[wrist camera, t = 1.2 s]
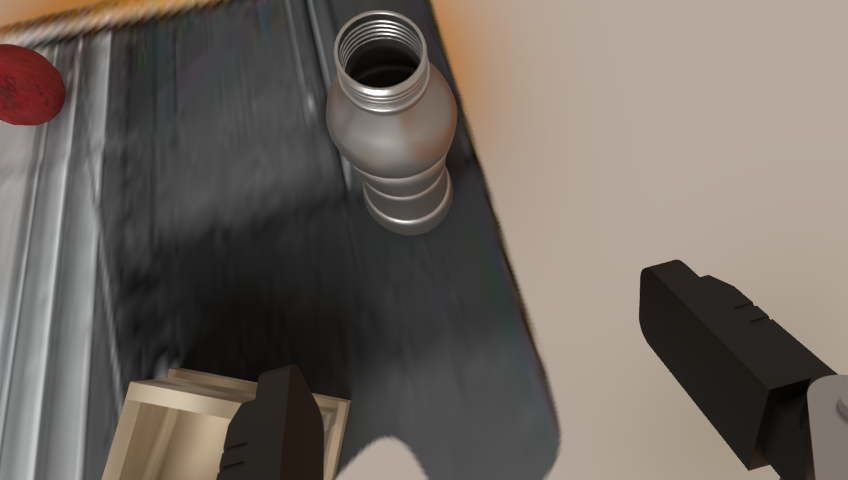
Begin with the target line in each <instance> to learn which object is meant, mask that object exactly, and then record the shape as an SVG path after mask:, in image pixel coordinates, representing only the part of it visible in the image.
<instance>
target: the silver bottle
mask: <svg viewBox="0 0 848 480" xmlns="http://www.w3.org/2000/svg"><path fill="white" fill-rule="evenodd" d="M334 59H335V64H336V67H337V76H336V77H335V79H334V81H333V83H332V84H331V87H330V90H329V94H328V98H327V109H326V120H327V127H328V130H329V133H330V135H331V138H332V140H333V142H334V143H335V145H336V146H337V148H338V149H339V151H340V152H341V153H342V155H343V156H344V157H345V158H346V159H347V160H348V161H349V162H350V163H351V164H352V165H353V166H354V167H355V168H356V169H357V170H358V171H359V173H360V174H361V176H362V179H363V195H364V202H365V204H366V207H367V209H368V211H369V212H370V214H371V216H372V217H373V218H374V219H375V220H376V221H377V222H378V223H379V224H381V225H382V226H383V227H385V228H386V229H388V230H390V231H392V232H395V233H397V234H402V235H419V234H423V233H426V232H428V231H430V230H432V229H433V228H435V227H436V226H437V225H438V224H439V223H441V221H442V220H443V219H444V217H445V216H446V215H447V213H448V211H449V209H450V207H451V204H452V200H453V186H452V181H451V178H450V175H449V172H448V170H447V168H446V166H445V160H446V155H447V153H448V150H449V148H450V145H451V143H452V140H453V137H454V132H455V128H456V123H457V108H456V103H455V98H454V96H453V94H452V92H451V89H450V87H449V85H448V84H447V82H446V80H445V79H444V77H443V76H442V75H441V73H440V72H439V70H437V69H436V68H435V67H434V66H433V65H432V64H431V63H430V62H429V60H428V57H427V46H426V42H425V39H424V37H423V35H422V32H421V31H420V29H419V28H418V27H417V25H416V24H414V23H413V22H412V21H411V20H410V19H408V18H407V17H405V16H403V15H401V14H398V13H396V12H392V11H387V10H375V11H368V12H365V13H362V14H359V15H357V16H356V17H354V18H352V19H351V20H350V21H348V22H347V23H346V24H345V25H344V26H343V27H342V29H341V30H340V32H339V33H338V35H337V37H336V41H335V44H334Z"/></svg>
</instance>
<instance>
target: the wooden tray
mask: <svg viewBox="0 0 848 480" xmlns="http://www.w3.org/2000/svg"><path fill="white" fill-rule="evenodd" d="M257 384H258V383H257V382H252V381H247V380H241V379H236V378H231V377H226V376H220V375H215V374H210V373H205V372H199V371H194V370H189V369H184V368H171V369H169V371H168V375H167V378H161V379H152V380H143V381H133V382H130V385H129V388H128V392H127V395H126V399H125V402H124V406H123V409H122V412H121V416H120V419H119V423H118V426H117V429H116V433H115V436H114V440H113V443H112V446H111V450H110V453H109V457H108V460H107V464H106V467H105V470H104V474H103V477H102V480H216V479H217V474H218V473H219V472H220V470H219V465H220V461H221V456H222V453H224V450H223V447H224V442H225V438H226V433H227V428H228V425H229V423H230V422H231V420H232V418H233V417H234V415H235V413H236V412H237V410H238V409H239V407H240V405H241V404H242V403H244V402H247V401H251V400H255V396H256V390H257ZM312 394H313V396H314V398H315V400H316V402H317V404H318V406H319V409H320V412H321V415H322V419H323V425H324V478H323V480H335V477H336V472H337V467H338V462H339V457H340V452H341V447H342V442H343V437H344V432H345V427H346V422H347V417H348V412H349V407H350V402H351V400H346V399H341V398H336V397H330V396H325V395H320V394H315V393H312Z"/></svg>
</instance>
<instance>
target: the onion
mask: <svg viewBox="0 0 848 480" xmlns="http://www.w3.org/2000/svg"><path fill="white" fill-rule="evenodd" d="M64 99H65V87H64V84H63V81H62V78H61V75H60V72H59V71H58V70H57V69H56V68H55V67H54V66H53V65H52V64H51V63H50V62H49V61H48V60H47V59H46V58H45V57H44V56H42V55H40V54H39V53H37V52H35V51H33V50H30V49H27V48H23V47H20V46H16V45H10V44H0V120H2V121H5V122H8V123H10V124H13V125H39V124H42V123H45V122H47V121H50V120H51V119H53V118H54V117H55V116H56V115H57V114H58V113H59V112H60V110H61V108H62V106H63V103H64Z"/></svg>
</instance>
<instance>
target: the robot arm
mask: <svg viewBox="0 0 848 480" xmlns="http://www.w3.org/2000/svg"><path fill="white" fill-rule="evenodd" d="M639 321H640V326H641V330H642V333H643V335H644V337H645V339H646V341H647V342H648V344H649V345H650V347H651V348H652V349H653V350H654V352H655V353H656V354H657V356H658V357H659V358H660V359H661V361H662V362H663V363H664V364H665V366H666V367H667V368H668V369H669V371H670V372H671V373H672V374H673V375H674V377H675V378H676V379H677V381H678V382H679V383H680V385H681V386H682V387H683V388H684V390H685V391H686V392H687V393H688V395H689V396H690V397H691V398H692V400H693V401H694V402H695V403H696V405H697V406H698V407H699V409H700V410H701V411H702V412H703V414H704V415H705V416H706V417H707V419H708V420H709V421H710V422H711V424H712V425H713V426H714V428H715V429H716V430H717V431H718V433H719V434H720V435H721V436H722V438H723V439H724V440H725V441H726V443H727V444H728V445H729V446H730V448H731V449H732V450H733V451H734V453H735V454H736V455H737V457H738V458H739V459H740V460H741V462H742V463H743V464H744V465H745V467H746V468H747V469H748V470H753V469H756V468H759V467H763V466H767V465H771V466H772V467H773V469H774V470H775V471H776V472H777V473H778V475H779V476H780V479H779V480H848V375H838V374H837V373H836V372H834V371H833V370H832V369H831V368H829V367H828V366H827V365H826V364H825V363H823V362H822V361H821V360H820V359H819V358H818V357H816V356H815V355H814V354H813V353H812V352H811V351H809V350H808V349H807V348H806V347H804V345H802V344H801V343H800V342H799V341H798V340H796V339H795V338H794V337H793V336H792V335H791V334H789V333H788V332H787V331H786V330H785V329H783V328H782V327H781V326H780V325H779V324H778V323H776V322H775V321H774V320H773V319H772V320H770V319H769V316H768V315H767V314H766V313H764V312H763V311H762V310H761V309H760V308H759V307H758V306H754V305H753V302H752V301H751V300H749V299H748V298H747V297H746V296H745V295H743V294H742V293H741V292H740V291H739V290H738V289H736V288H735V287H734V286H732V285H730V284H728V283H725V282H723V281H721V280H719V279H716V278H714V277H712V276H710V275H707V276H703V277H699V276H698V275H697V274H696V273H694V272H693V271H692V270H691V269H690V268H689V267H688V266H687V265H686V264H684V263H683V262H682V261H680V260H673V261H670V262H666V263H662V264H658V265H654V266H651V267H647V268H644V269H643V270H642V272H641V277H640V306H639ZM223 450H224V453H222V456H221V461H220V465H219V470H220V472H219V473H218V474H217V479H216V480H323V478H324V425H323V419H322V415H321V412H320V409H319V406H318V404H317V402H316V400H315V398H314V396H313V394H312V393H311V391H310V389H309V387H308V385H307V383H306V381H305V379H304V377H303V375H302V373H301V371H300V369H299V367H298V366H297V365H296V364H291V365H288V366H284V367H281V368H277V369H273V370H270V371H266V372H262V373H261V374H260V376H259V379H258V384H257V390H256V396H255V400H251V401H247V402H244V403H242V404H241V405H240V407H239V409H238V410H237V412H236V413H235V415H234V417H233V418H232V420H231V422H230V423H229V425H228V428H227V433H226V438H225V442H224V447H223Z"/></svg>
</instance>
